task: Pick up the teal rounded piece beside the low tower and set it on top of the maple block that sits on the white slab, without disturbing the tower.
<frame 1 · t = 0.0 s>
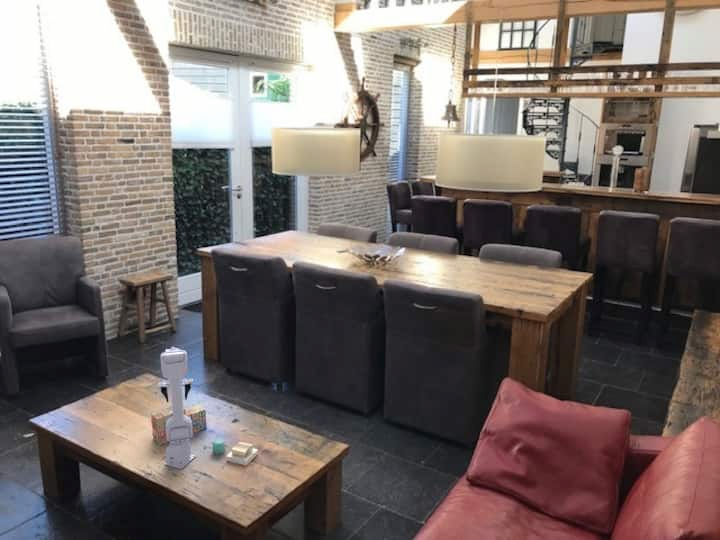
hand: (176, 399, 262), 11 cm above the table, tool pointing down, fingers open, 7 cm apart
maple block: (242, 452, 238), point 2 cm above the table, touching white slab
stack of blocks: (180, 434, 255), on the table
white slab: (242, 458, 238), on the table, touching maple block
teal rounded piece: (219, 451, 242), on the table
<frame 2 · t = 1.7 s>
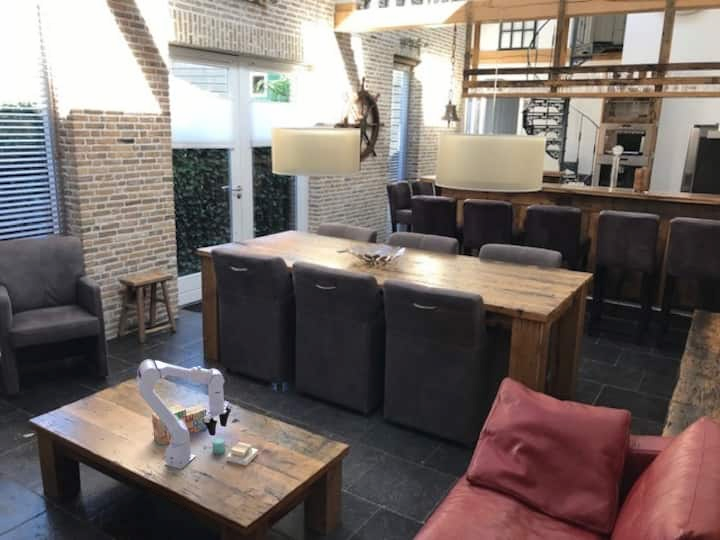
hand: (218, 430, 240), 9 cm above the table, tool pointing down, fingers open, 7 cm apart
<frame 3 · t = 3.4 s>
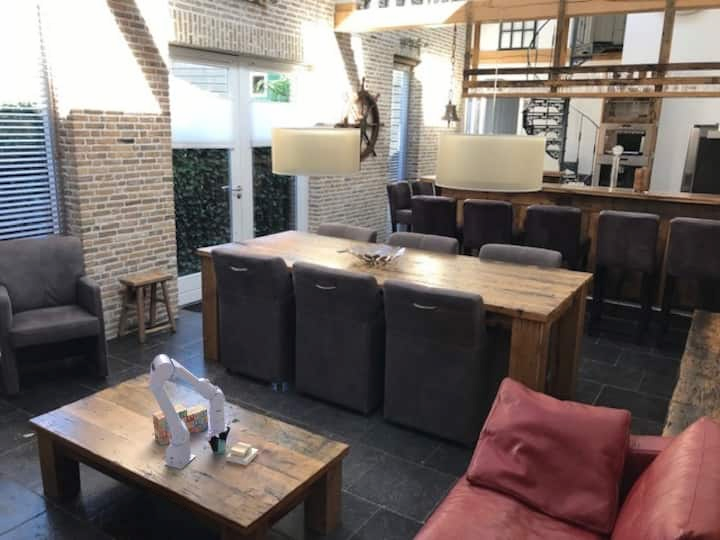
hand: (219, 447, 242), 1 cm above the table, tool pointing down, fingers closed on teal rounded piece, 5 cm apart
teal rounded piece: (219, 451, 242), on the table, touching gripper
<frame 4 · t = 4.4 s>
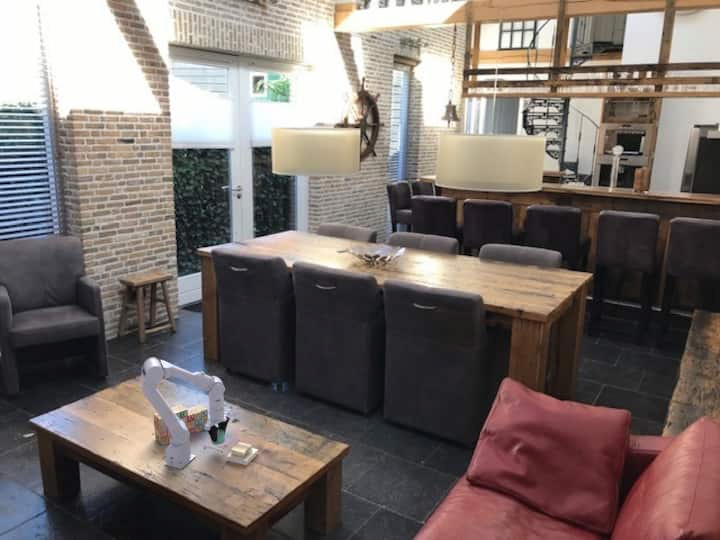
hand: (218, 438, 240), 6 cm above the table, tool pointing down, fingers closed on teal rounded piece, 5 cm apart
teal rounded piece: (218, 441, 241), point 4 cm above the table, touching gripper
everything else where it was.
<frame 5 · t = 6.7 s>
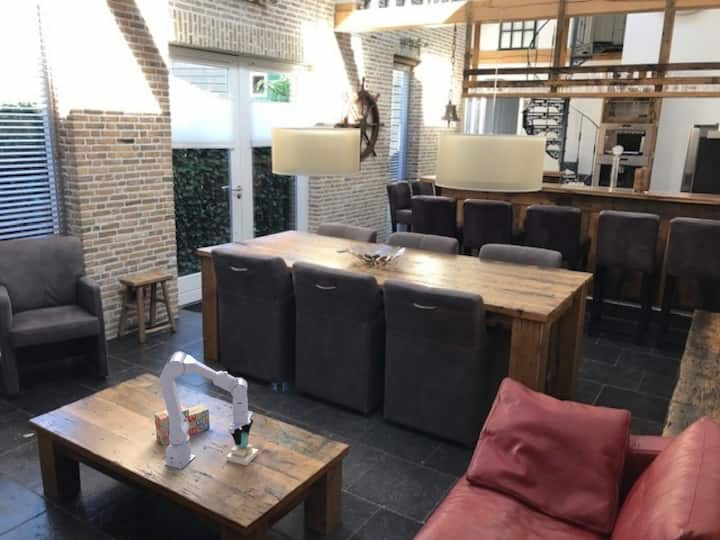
hand: (241, 440, 236), 7 cm above the table, tool pointing down, fingers closed on teal rounded piece, 5 cm apart
maple block: (242, 452, 238), point 2 cm above the table
white slab: (242, 458, 238), on the table
teal rounded piece: (241, 444, 237), point 6 cm above the table, touching gripper
when the fingers open (7 cm above the table, at t = 7.1 s): teal rounded piece drops 1 cm, resting on maple block.
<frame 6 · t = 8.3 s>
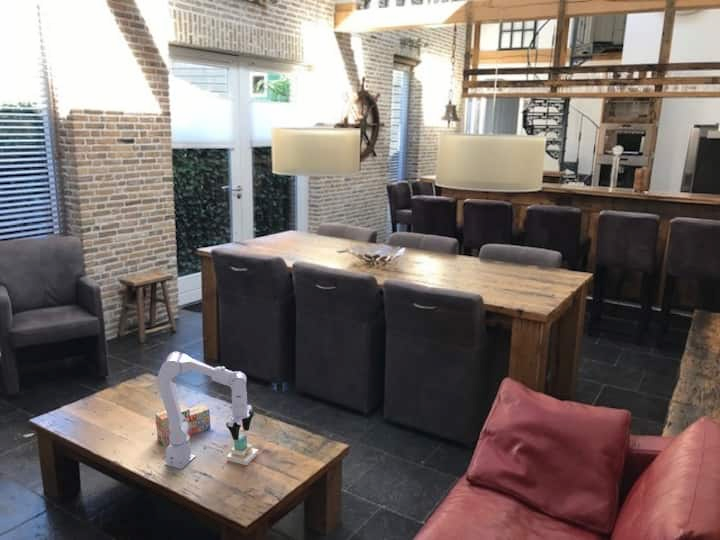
hand: (240, 434, 236), 10 cm above the table, tool pointing down, fingers open, 7 cm apart
maple block: (241, 452, 238), point 2 cm above the table, touching white slab, teal rounded piece
white slab: (243, 458, 238), on the table, touching maple block
teal rounded piece: (240, 447, 237), point 4 cm above the table, touching maple block
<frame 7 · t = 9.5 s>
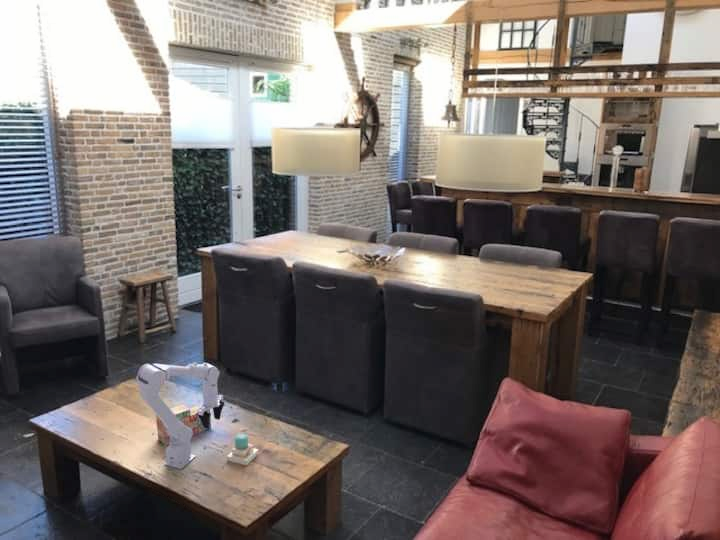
hand: (211, 423, 244), 10 cm above the table, tool pointing down, fingers open, 7 cm apart
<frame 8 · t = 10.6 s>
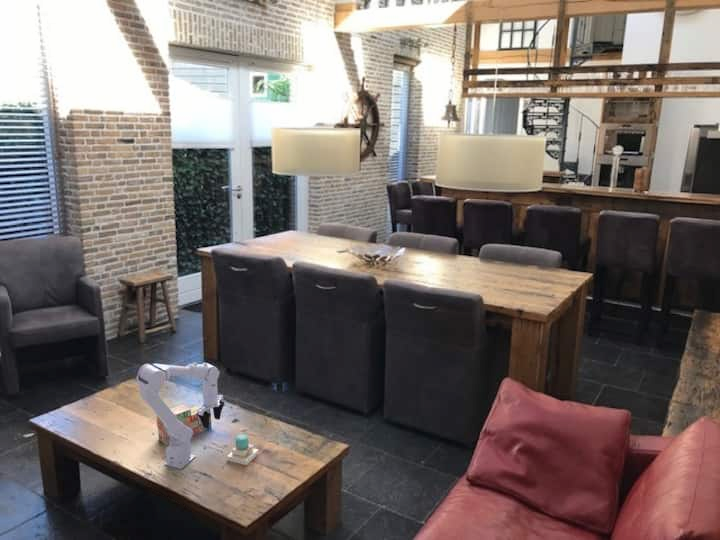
hand: (211, 423, 244), 10 cm above the table, tool pointing down, fingers open, 7 cm apart
at the end: teal rounded piece 0.4 cm off-centre on the maple block, point 2.6 cm above the maple block's base; maple block moved 0.7 cm from its start; white slab moved 0.7 cm from its start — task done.
